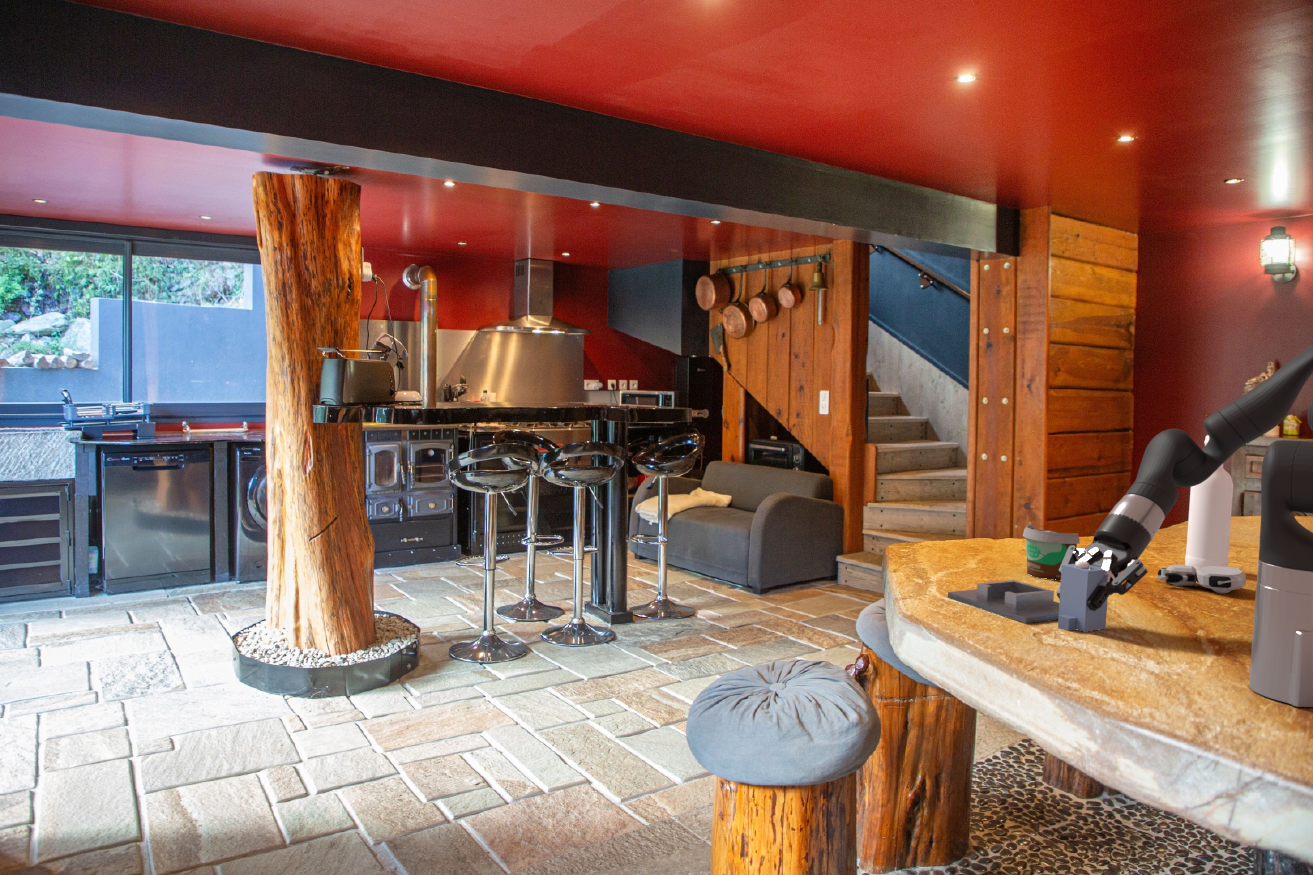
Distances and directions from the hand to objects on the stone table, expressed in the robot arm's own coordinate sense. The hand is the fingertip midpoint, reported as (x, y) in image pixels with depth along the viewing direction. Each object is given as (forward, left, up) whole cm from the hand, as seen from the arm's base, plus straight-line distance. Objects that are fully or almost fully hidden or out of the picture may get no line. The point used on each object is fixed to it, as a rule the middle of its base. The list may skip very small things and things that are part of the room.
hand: (1075, 602), depth 140 cm
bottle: (+47, -54, -4) cm, 71 cm away
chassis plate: (+13, +4, -4) cm, 14 cm away
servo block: (+1, -2, -4) cm, 5 cm away
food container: (+38, -13, -4) cm, 40 cm away
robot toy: (+31, -42, -5) cm, 52 cm away
